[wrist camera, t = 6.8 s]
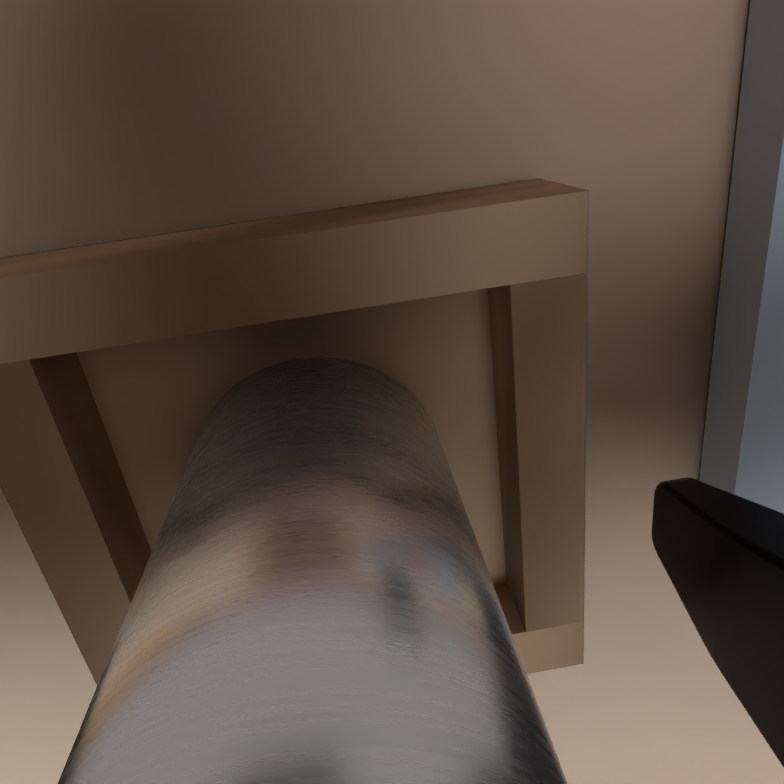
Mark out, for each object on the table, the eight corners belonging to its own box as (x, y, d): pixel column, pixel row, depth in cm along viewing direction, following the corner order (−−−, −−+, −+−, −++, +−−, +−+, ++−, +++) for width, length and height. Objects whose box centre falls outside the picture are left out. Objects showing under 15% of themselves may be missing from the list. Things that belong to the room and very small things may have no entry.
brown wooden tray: (538, 178, 9) (588, 189, 7) (548, 590, 12) (583, 663, 10) (-13, 259, 8) (-94, 292, 7) (154, 660, 12) (126, 747, 10)
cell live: (428, 338, 9) (791, 1058, 2) (451, 547, 11) (692, 1336, 4) (162, 380, 9) (-444, 1334, 2) (228, 586, 10) (41, 1490, 4)
